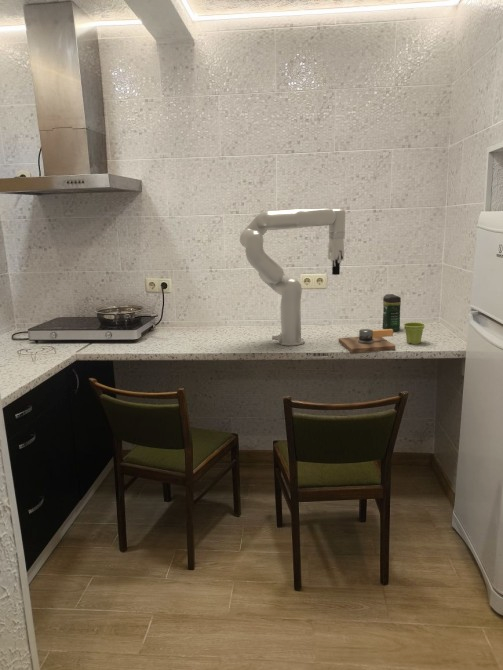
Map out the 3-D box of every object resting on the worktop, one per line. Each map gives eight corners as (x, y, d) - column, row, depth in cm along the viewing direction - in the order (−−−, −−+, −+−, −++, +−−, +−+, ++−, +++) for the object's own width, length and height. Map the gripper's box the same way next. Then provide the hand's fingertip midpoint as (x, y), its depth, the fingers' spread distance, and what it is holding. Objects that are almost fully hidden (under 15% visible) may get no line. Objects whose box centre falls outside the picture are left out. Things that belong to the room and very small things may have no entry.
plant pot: (406, 345, 220) (407, 327, 217) (400, 340, 229) (401, 322, 227) (427, 344, 219) (428, 326, 217) (420, 339, 228) (421, 321, 226)
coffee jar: (402, 331, 246) (403, 295, 241) (386, 332, 245) (387, 296, 241) (395, 327, 255) (396, 292, 251) (380, 328, 255) (381, 293, 250)
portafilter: (356, 337, 225) (356, 329, 224) (388, 335, 226) (388, 326, 225) (362, 341, 217) (362, 333, 216) (395, 339, 218) (395, 330, 217)
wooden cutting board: (351, 353, 211) (351, 346, 211) (338, 342, 231) (338, 336, 230) (395, 350, 213) (395, 343, 212) (378, 339, 232) (378, 333, 232)
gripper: (324, 235, 235) (323, 273, 239) (334, 236, 220) (333, 276, 225) (338, 235, 236) (337, 272, 240) (350, 236, 222) (348, 275, 226)
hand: (335, 274), depth 232 cm, fingers closed
